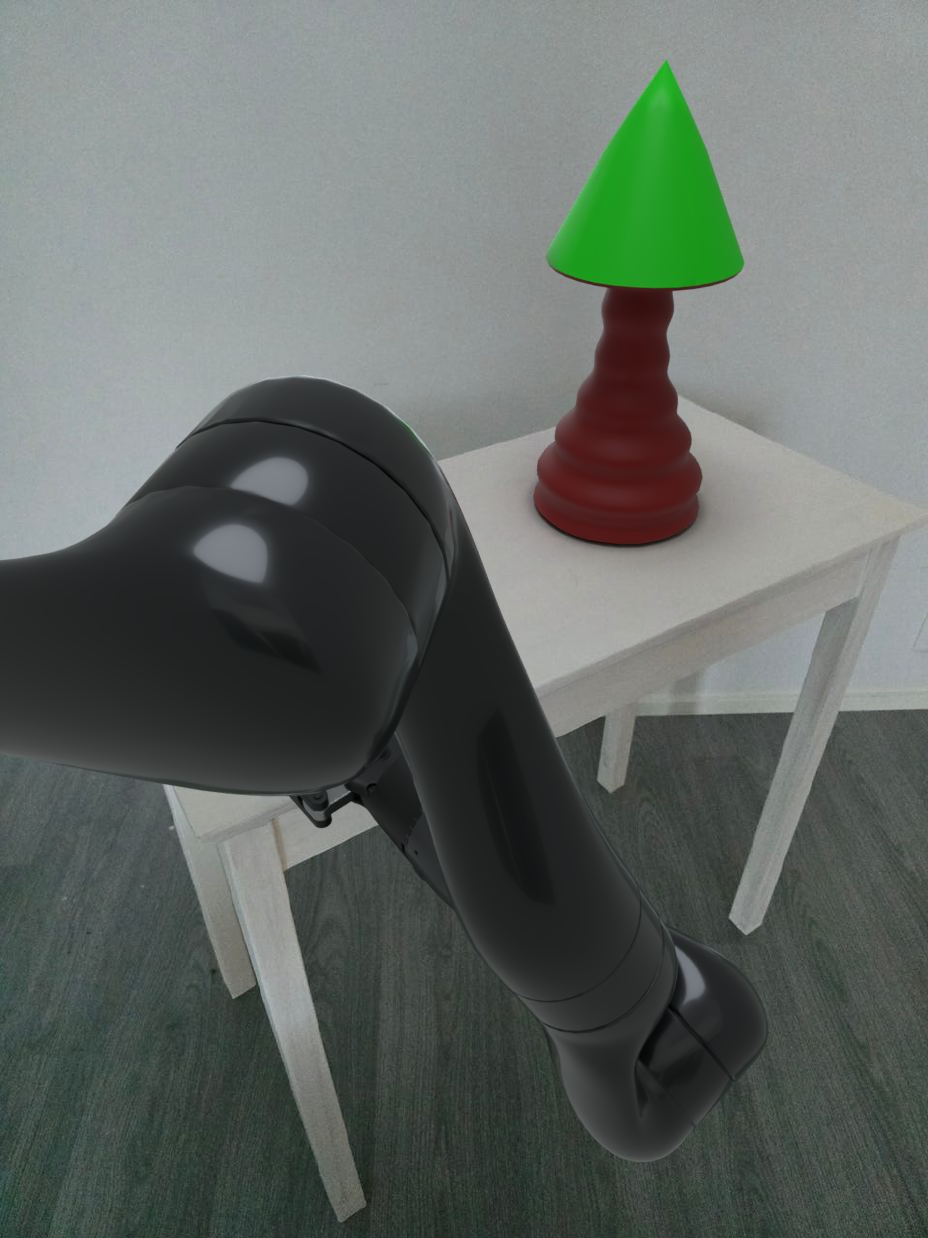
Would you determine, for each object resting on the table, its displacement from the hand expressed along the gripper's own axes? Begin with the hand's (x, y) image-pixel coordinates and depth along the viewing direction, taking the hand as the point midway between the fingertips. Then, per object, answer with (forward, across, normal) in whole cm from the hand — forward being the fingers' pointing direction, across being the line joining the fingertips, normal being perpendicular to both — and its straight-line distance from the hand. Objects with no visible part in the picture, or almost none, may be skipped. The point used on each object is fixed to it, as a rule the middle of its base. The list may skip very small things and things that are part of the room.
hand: (329, 682), depth 62 cm
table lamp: (+17, -48, +11) cm, 52 cm away
